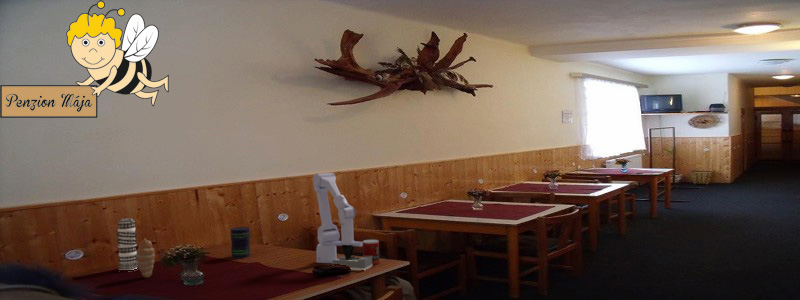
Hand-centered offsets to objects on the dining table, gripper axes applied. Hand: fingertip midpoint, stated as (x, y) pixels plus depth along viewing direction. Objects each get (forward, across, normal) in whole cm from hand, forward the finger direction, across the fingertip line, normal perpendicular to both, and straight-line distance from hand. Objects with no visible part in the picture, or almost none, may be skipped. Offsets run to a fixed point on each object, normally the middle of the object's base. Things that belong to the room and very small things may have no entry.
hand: (348, 261), depth 281 cm
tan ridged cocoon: (+3, -84, -38) cm, 92 cm away
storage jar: (+3, -68, +13) cm, 69 cm away
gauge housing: (+3, +2, 0) cm, 3 cm away
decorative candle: (+3, -106, -26) cm, 109 cm away
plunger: (+1, +3, -1) cm, 4 cm away
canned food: (+3, +8, +10) cm, 13 cm away
